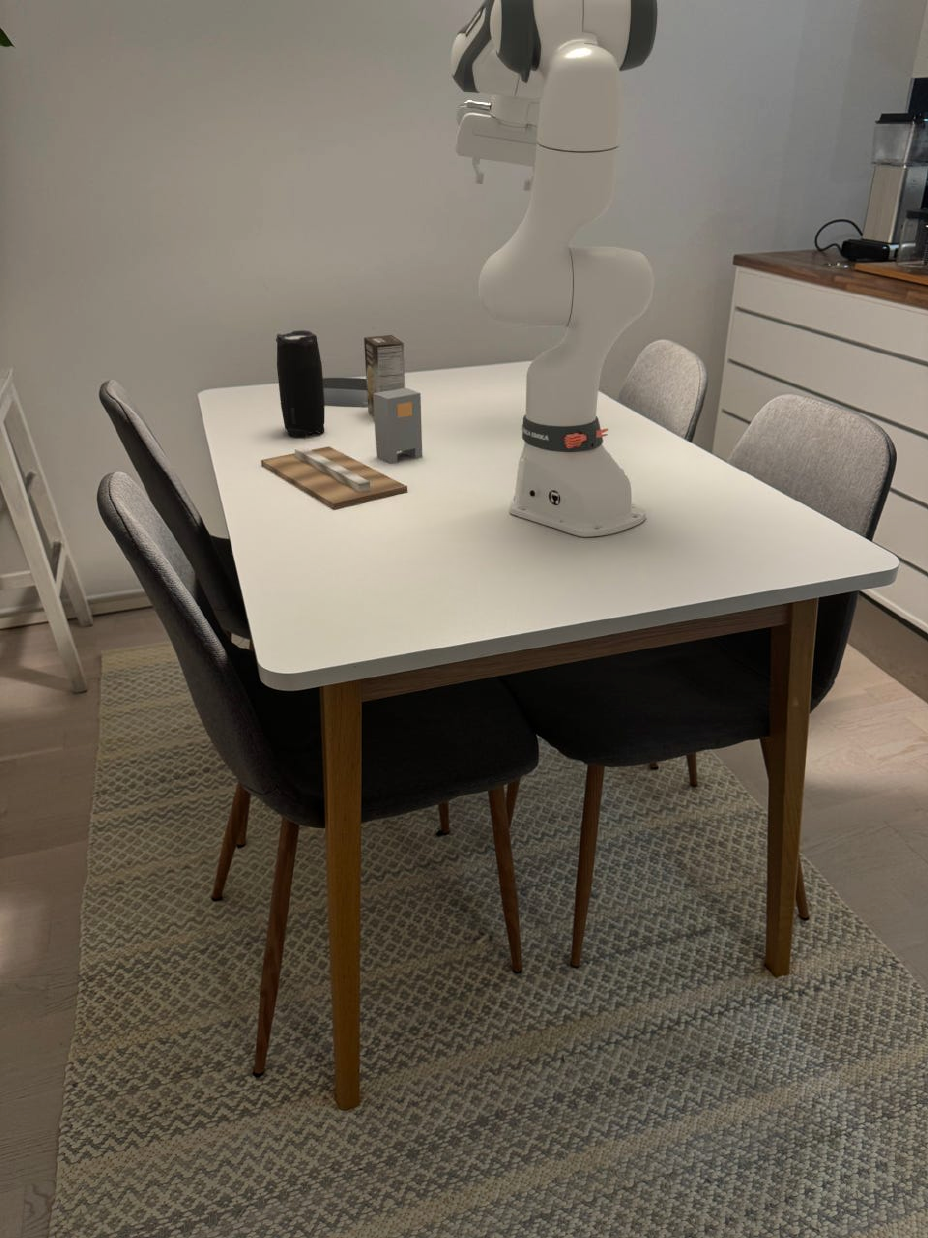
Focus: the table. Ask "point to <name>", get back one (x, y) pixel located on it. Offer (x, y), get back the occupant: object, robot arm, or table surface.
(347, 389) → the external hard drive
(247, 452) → the table surface
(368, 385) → the coffee box
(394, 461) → the block
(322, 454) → the rail
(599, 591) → the table surface
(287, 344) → the portable speaker
